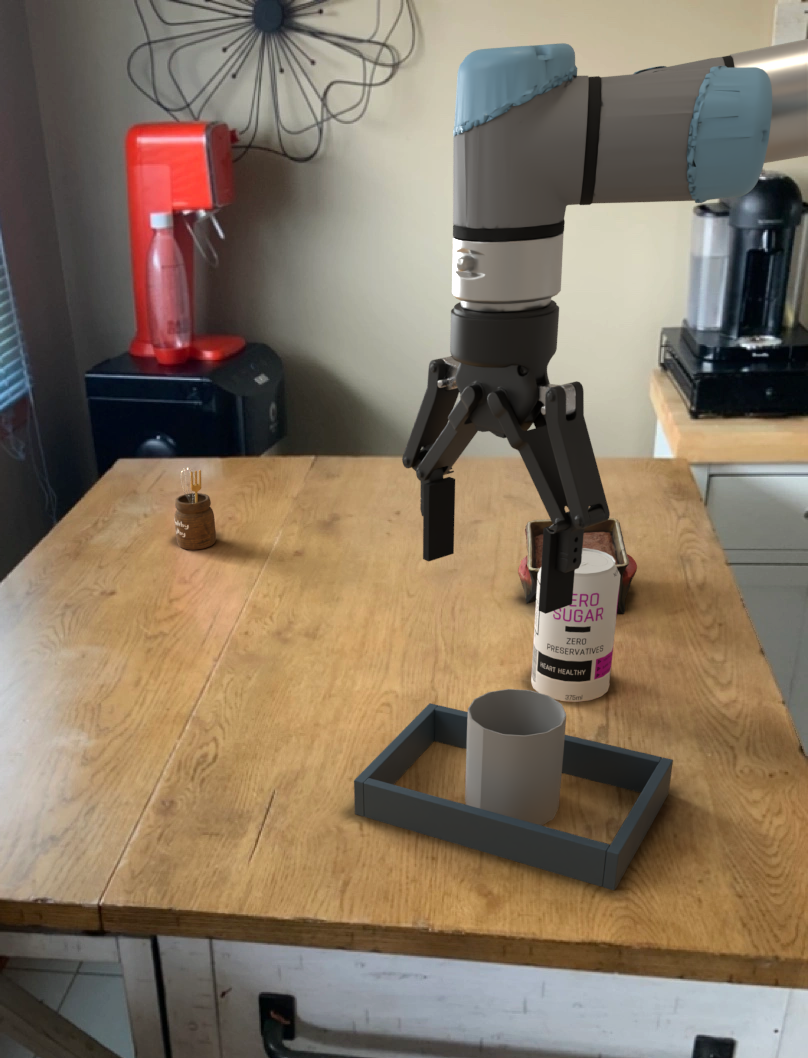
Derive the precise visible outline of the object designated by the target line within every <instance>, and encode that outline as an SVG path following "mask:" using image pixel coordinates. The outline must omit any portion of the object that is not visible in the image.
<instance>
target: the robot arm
mask: <svg viewBox="0 0 808 1058" xmlns="http://www.w3.org/2000/svg"><path fill="white" fill-rule="evenodd" d="M455 91H456V93H455V95H456V96H455V107H454V108H455V110H454V126H453V129H452V136H453V137H452V142H453V143H452V144H453V145H452V265H451V266H452V269H451V295H452V296H453V297H454V298H455V299H457V300H459V302H457V303H455V305H454V306H453V308H451V310H450V337H449V338H450V339H449V340H450V341H449V342H450V343H449V352H450V356H445V357H441V358H435V359H432V360H431V361H429V363H428V370H427V382H426V383H427V384H426V389H425V391H424V395H423V398H422V400H421V403H420V406H419V410H418V412H417V414H416V418H415V420H414V423H413V426H412V428H411V432H410V435H409V437H408V440H407V443H406V446H405V449H404V452H403V454H402V458H401V460H402V461H401V462H402V465H403V467H404V468H405V469H412V470H413V471H414V472H415V476H416V478H417V479H418V481H419V482H420V500H419V501H420V504H419V506H420V507H419V508H420V509H419V510H420V514H421V517H422V530H423V531H422V560H424V561H426V562H432V561H435V560H439V559H442V558H444V557H448V556H451V555H454V554H455V553H454V552H455V514H456V513H455V511H456V510H455V509H456V507H455V506H456V478H454V477H451V476H447V475H451V474H453V473H455V471H454V470H453V466H454V465H455V464H456V462H457V461H458V460H459V458H460V456H461V455H462V454H463V452H464V451H465V450H466V448H467V447H468V446H469V444H470V443H471V442H472V440H473V439H474V438H475V436H476V435H477V433H478V432H481V433H485V432H490V433H491V434H493V435H494V436H496V437H498V438H501V439H507V441H508V444H509V446H510V447H511V448H512V449H514V450H516V451H518V453H519V455H520V457H521V459H522V462H523V464H524V466H525V468H526V470H527V472H528V474H529V477H530V479H531V481H532V483H533V485H534V487H535V490H536V491H537V494H538V495H539V498H540V501H541V502H542V504H543V506H544V509H545V510H546V513H547V515H548V517H549V519H551V521H552V523H553V525H552V526H548V527H545V528H544V531H543V547H542V563H541V579H540V595H539V610H538V611H541V612H543V613H545V614H546V613H549V612H552V611H555V610H557V609H560V608H563V607H566V606H568V605H571V604H572V598H573V586H574V573H575V569H578V568H579V567H580V564H581V560H582V556H581V555H582V548H583V536H584V529H585V528H587V527H590V526H593V525H596V524H599V523H602V522H605V521H607V520H608V519H609V518H610V516H611V514H610V508H609V505H608V501H607V497H606V493H605V489H604V486H603V482H602V478H601V476H600V474H601V473H600V471H599V467H598V464H597V459H596V457H595V452H594V449H593V448H594V447H593V445H592V442H591V438H590V433H589V429H588V425H587V423H586V419H585V418H586V417H585V414H584V413H585V409H584V407H585V405H584V404H585V403H584V402H585V401H584V400H585V399H584V393H585V392H584V391H585V390H584V386H583V384H582V383H581V382H580V381H573V382H568V383H564V384H563V383H562V384H554V383H550V379H549V374H548V367H549V363H550V361H551V359H552V358H553V357H554V355H556V352H557V350H558V348H557V347H558V334H559V321H560V319H559V318H560V306H559V305H558V304H557V301H555V300H553V299H552V298H553V297H556V296H557V295H558V294H560V292H561V291H562V273H563V253H564V232H565V223H566V222H565V221H566V220H565V217H566V216H565V215H566V211H567V206H575V205H577V206H578V205H579V206H590V205H593V204H629V203H630V204H631V203H662V202H663V203H664V202H665V203H666V202H694V203H695V204H703V203H705V202H707V201H710V200H712V201H713V200H721V199H730V198H731V199H732V198H733V199H734V198H740V197H744V196H746V195H747V194H749V193H750V192H751V191H752V190H753V189H754V188H755V186H757V184H758V181H759V180H760V177H761V174H762V173H763V172H762V171H763V168H764V164H767V163H768V164H769V163H773V162H774V163H775V162H780V161H787V160H791V159H797V158H804V157H808V38H805V39H800V40H795V41H790V42H784V43H780V44H775V45H769V46H764V47H760V48H756V49H755V48H754V49H750V50H746V51H740V52H739V51H738V52H735V53H730V54H729V55H723V56H719V57H710V58H706V59H700V60H696V61H691V62H685V63H680V64H675V65H669V66H666V65H657V66H653V67H648V68H643V69H640V70H636V71H635V72H634V73H632V74H621V75H620V74H619V75H610V76H609V75H608V76H599V75H598V76H589V75H578V67H577V66H576V52H575V49H574V47H573V46H571V44H569V43H563V42H561V43H547V44H533V45H517V46H516V45H515V46H505V47H491V48H480V49H475V50H473V51H471V52H470V53H468V54H467V55H466V56H465V57H464V58H463V60H462V62H461V63H460V64H459V66H458V69H457V78H456V90H455ZM459 394H460V396H459ZM458 397H459V400H458ZM457 400H458V401H457ZM532 426H534V428H531V427H532ZM444 476H446V477H444ZM566 508H567V509H568V511H566Z"/></svg>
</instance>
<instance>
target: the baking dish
mask: <svg viewBox="0 0 808 1058" xmlns="http://www.w3.org/2000/svg"><path fill="white" fill-rule="evenodd" d="M552 525H553V523H552V521H551V519H550V518H547V519H545V518H544V519H533V520H531V521H529V520H528V521H527V523H526V524H525V529H524V533H525V539H526V550H527V551H526V552H527V553H526V554H527V555H525V556H523V558H522V559H521V560H520V564H519V566H518V570H517V575H518V576H519V579H520V583H521V586H522V590H523V594H524V598H525V603H526V605H528V604H532V603H536V593H537V577H538V572H539V570H540V568H541V563H542V547H543V531H544V528H545V527H548V526H552ZM583 548H587V549H594V550H599V551H602V552H605V553H607V554H609V555H611V556H612V557H613V558H614V560H615V561H616V562H615V565H616V567H617V569H618V571H619V573H620V575H621V576H620V586H619V596H618V606H617V615H624V614H625V612H626V598H627V595H628V593H629V590H630V587H631V584H632V581H633V579H634V577H635V575H636V573H637V570H638V564H637V562H636V560H635V558H634V557H632V556H631V555H630V554H627V550H626V549H627V548H626V544H625V542H624V536H623V531H622V527H621V523H620V520H619V519H616V518H614V517H609V519H608V520H607V521H605V522H602V523H599V524H596V525H593V526H590V527H587V528H585V529H584V536H583Z"/></svg>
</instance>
